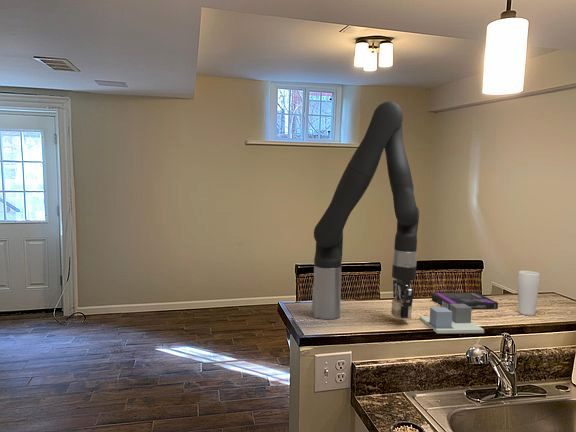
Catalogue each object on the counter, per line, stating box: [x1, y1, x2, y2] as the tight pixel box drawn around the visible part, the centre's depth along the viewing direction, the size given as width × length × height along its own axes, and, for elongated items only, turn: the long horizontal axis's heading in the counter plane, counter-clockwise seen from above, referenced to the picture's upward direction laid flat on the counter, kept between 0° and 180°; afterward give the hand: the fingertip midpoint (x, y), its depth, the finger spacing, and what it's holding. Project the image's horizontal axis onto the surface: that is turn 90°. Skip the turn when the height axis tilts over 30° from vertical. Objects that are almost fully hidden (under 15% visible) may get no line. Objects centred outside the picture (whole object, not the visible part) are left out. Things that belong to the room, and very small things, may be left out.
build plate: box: [419, 304, 485, 334], centre depth 144 cm, size 15×14×6 cm
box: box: [431, 292, 499, 311], centre depth 170 cm, size 14×4×20 cm
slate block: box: [429, 306, 452, 328], centre depth 141 cm, size 5×5×5 cm
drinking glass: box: [517, 270, 541, 317], centre depth 158 cm, size 7×7×15 cm
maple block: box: [391, 298, 413, 320], centre depth 146 cm, size 5×5×5 cm
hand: (401, 314), depth 147 cm, fingers closed on maple block, 5 cm apart
